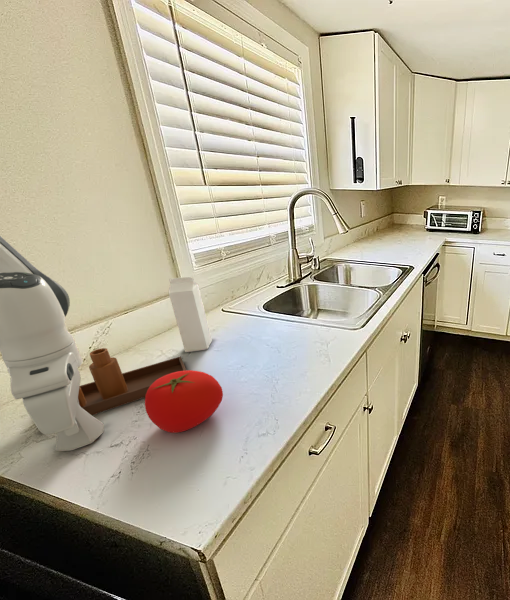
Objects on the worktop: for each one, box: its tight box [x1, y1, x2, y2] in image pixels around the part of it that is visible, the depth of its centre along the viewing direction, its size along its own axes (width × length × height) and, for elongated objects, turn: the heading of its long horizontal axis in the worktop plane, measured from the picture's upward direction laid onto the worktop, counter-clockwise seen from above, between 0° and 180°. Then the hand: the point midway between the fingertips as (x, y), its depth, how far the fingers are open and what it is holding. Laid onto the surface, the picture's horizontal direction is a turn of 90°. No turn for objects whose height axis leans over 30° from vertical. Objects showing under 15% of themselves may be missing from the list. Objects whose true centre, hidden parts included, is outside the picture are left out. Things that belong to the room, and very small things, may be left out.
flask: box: [55, 403, 105, 452], centre depth 63 cm, size 7×7×10 cm
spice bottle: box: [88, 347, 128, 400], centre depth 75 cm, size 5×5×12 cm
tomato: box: [144, 369, 224, 434], centre depth 67 cm, size 12×14×11 cm
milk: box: [168, 276, 213, 353], centre depth 96 cm, size 6×6×22 cm
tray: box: [80, 355, 187, 416], centre depth 78 cm, size 26×11×2 cm, turn 130°
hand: (74, 423), depth 63 cm, fingers closed on flask, 5 cm apart
